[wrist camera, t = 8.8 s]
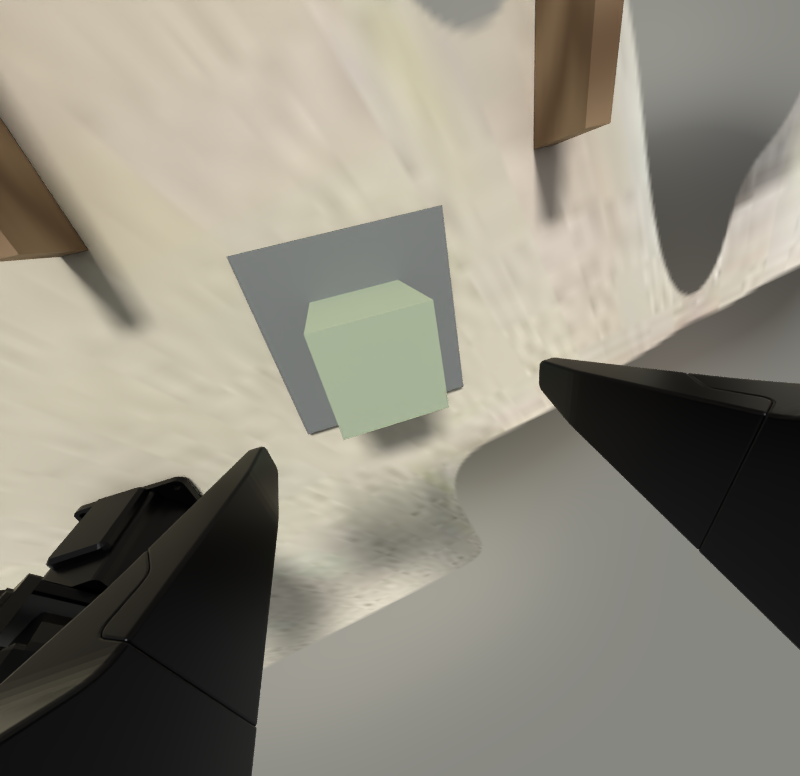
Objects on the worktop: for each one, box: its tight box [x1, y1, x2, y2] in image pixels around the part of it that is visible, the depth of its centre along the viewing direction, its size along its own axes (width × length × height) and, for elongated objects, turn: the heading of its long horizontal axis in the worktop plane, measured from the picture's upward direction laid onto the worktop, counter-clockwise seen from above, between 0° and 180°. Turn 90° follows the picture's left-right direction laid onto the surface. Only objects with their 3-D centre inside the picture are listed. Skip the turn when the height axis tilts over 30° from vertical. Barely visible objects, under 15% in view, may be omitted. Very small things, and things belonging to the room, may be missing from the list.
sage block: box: [304, 280, 449, 440], centre depth 15 cm, size 5×5×6 cm
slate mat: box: [227, 205, 463, 434], centre depth 18 cm, size 11×11×1 cm
